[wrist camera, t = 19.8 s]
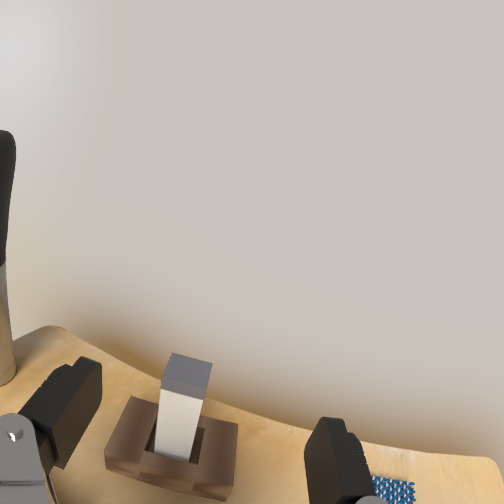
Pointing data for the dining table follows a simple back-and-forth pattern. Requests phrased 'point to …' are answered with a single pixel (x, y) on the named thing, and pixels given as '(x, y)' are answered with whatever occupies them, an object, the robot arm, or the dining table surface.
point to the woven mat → (393, 490)
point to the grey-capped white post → (180, 405)
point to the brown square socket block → (167, 469)
